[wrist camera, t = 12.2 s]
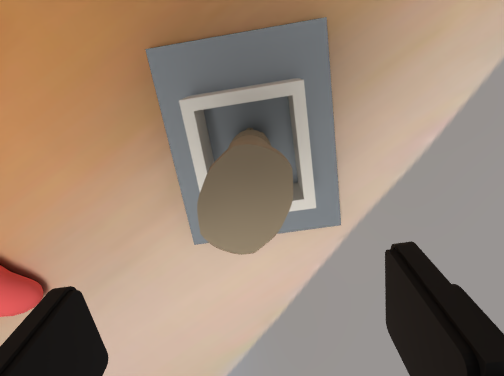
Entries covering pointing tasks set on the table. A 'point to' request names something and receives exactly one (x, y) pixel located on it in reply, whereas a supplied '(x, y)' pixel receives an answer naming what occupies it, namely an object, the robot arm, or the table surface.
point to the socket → (253, 111)
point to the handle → (245, 195)
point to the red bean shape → (17, 293)
